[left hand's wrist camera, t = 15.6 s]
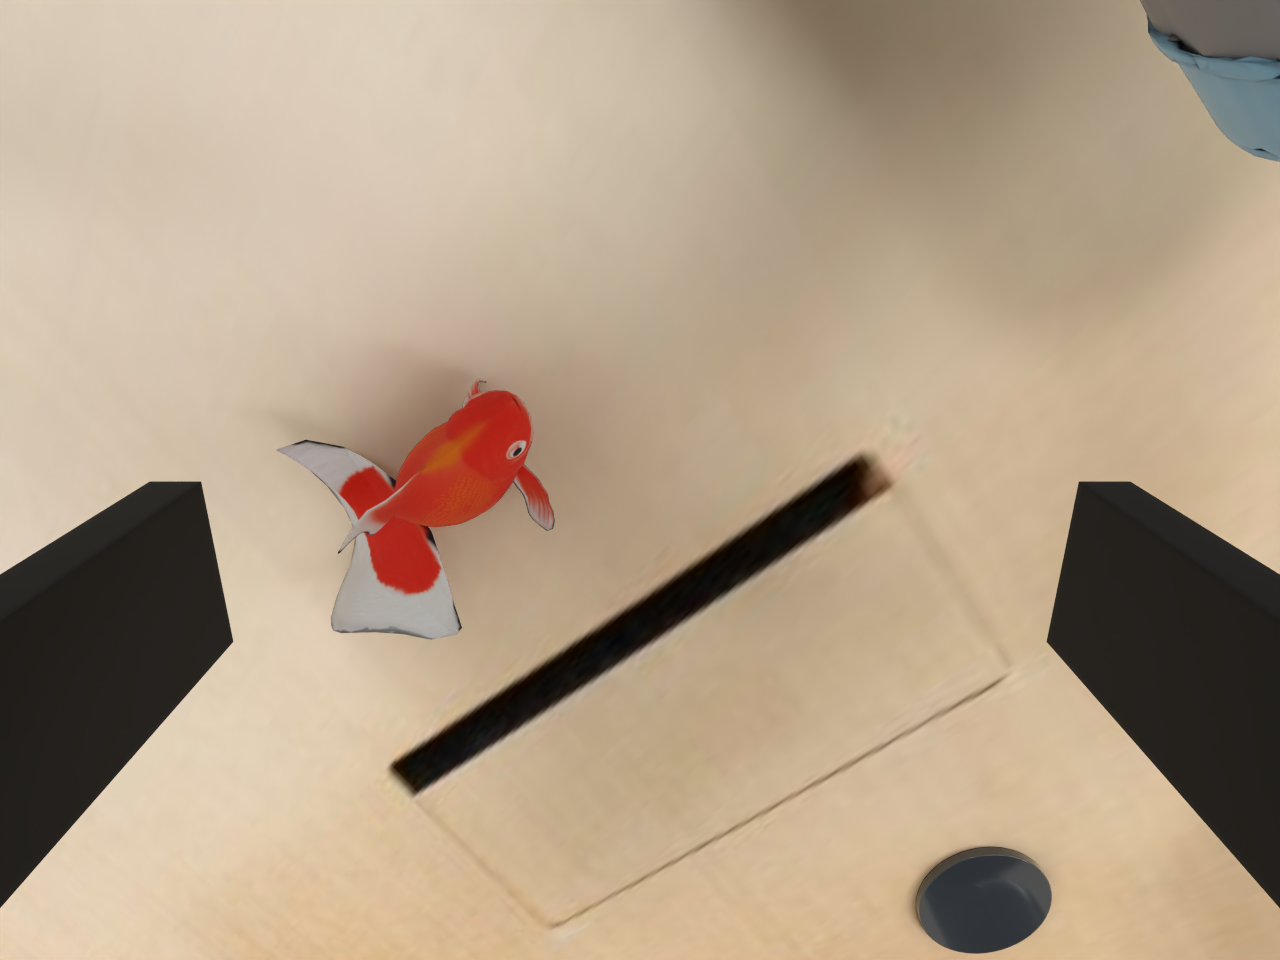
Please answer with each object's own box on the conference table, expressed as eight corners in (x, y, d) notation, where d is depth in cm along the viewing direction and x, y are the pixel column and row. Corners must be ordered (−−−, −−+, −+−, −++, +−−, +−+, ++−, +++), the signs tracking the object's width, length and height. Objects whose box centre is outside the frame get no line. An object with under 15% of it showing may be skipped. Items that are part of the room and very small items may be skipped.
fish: (656, 556, 37) (510, 640, 28) (440, 626, 45) (281, 706, 37) (566, 334, 37) (394, 355, 28) (367, 448, 45) (192, 489, 37)
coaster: (924, 846, 49) (927, 854, 48) (1058, 846, 49) (1063, 854, 48) (908, 945, 51) (911, 953, 51) (1035, 945, 51) (1039, 953, 51)
